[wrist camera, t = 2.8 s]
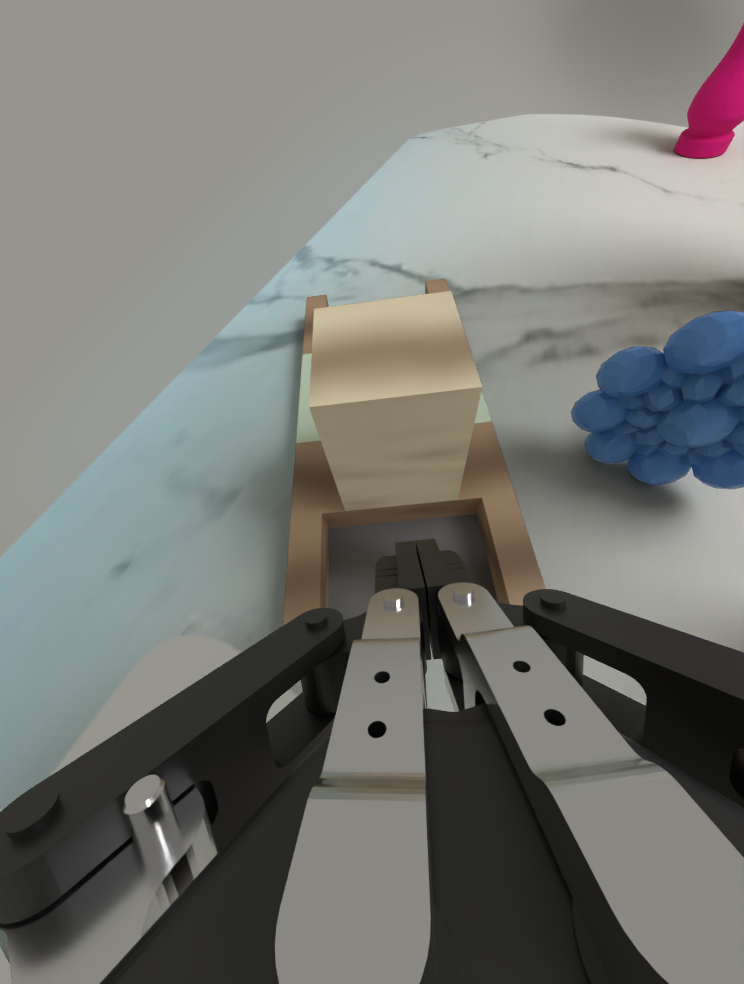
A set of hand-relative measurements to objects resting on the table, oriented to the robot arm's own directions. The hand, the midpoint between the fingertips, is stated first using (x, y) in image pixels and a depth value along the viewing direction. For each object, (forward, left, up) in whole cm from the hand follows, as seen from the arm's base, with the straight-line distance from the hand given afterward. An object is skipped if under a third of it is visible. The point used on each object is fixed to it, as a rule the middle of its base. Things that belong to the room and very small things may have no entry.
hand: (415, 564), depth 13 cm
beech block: (-8, -5, -6) cm, 12 cm away
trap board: (-13, -8, -9) cm, 18 cm away
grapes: (-16, +10, -9) cm, 21 cm away
